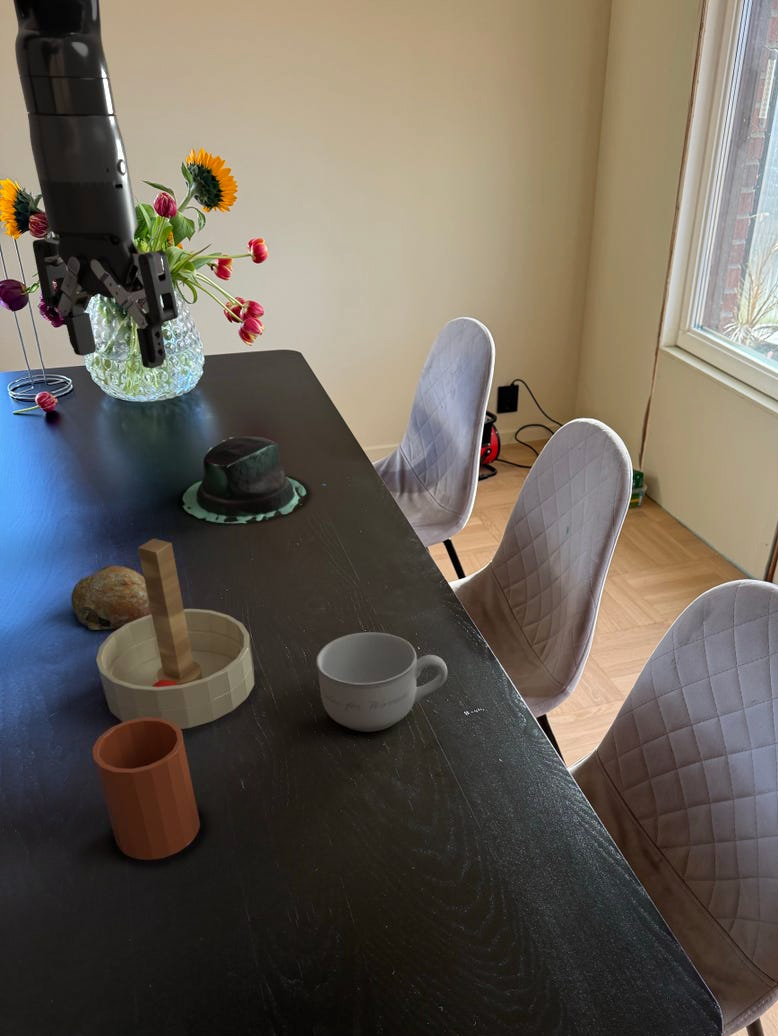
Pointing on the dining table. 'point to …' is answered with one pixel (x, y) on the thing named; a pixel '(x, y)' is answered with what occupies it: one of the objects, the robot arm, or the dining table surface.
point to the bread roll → (110, 598)
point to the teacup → (373, 679)
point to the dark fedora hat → (242, 482)
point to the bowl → (225, 684)
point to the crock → (147, 787)
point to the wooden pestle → (168, 613)
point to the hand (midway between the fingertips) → (119, 360)
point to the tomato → (164, 683)
